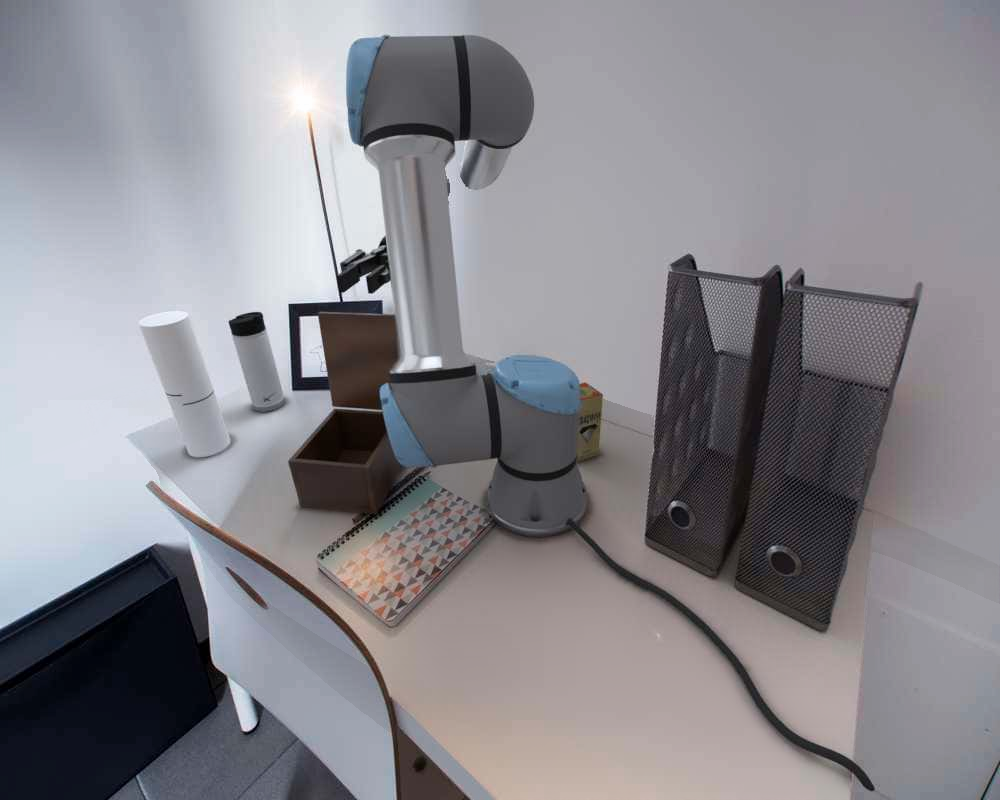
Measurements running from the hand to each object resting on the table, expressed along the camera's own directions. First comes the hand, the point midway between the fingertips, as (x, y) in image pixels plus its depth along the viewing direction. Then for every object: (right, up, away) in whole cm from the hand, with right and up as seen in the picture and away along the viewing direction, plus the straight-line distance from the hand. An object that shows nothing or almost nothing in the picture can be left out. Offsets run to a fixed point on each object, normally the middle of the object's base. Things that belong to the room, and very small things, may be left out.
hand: (354, 284), depth 82 cm
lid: (0, -12, +4) cm, 13 cm away
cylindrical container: (-31, -27, +16) cm, 44 cm away
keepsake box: (-1, -31, +6) cm, 32 cm away
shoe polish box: (+37, -27, +11) cm, 47 cm away
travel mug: (-26, -19, +29) cm, 43 cm away
